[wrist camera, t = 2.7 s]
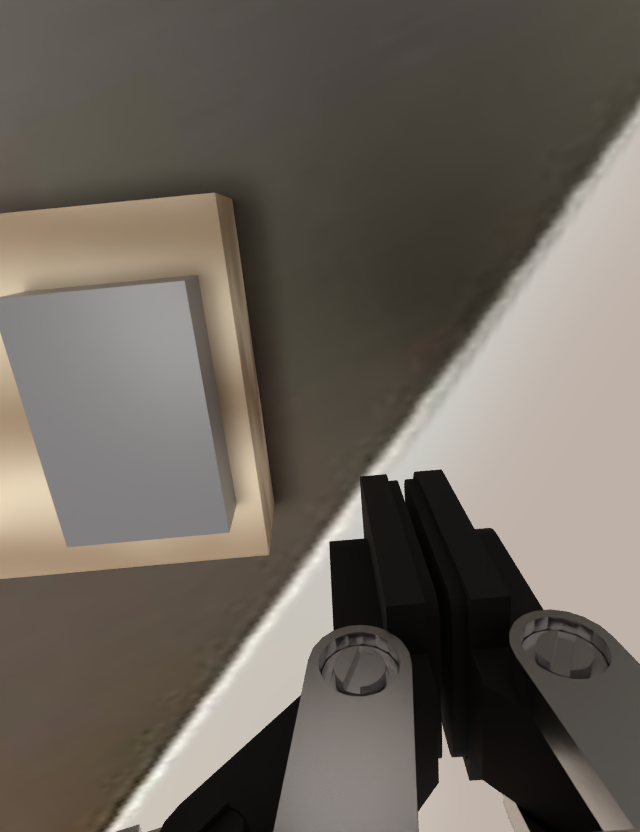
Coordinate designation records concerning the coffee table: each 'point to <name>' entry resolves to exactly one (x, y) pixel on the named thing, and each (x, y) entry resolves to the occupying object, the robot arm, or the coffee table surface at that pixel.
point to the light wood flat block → (230, 349)
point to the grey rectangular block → (123, 408)
